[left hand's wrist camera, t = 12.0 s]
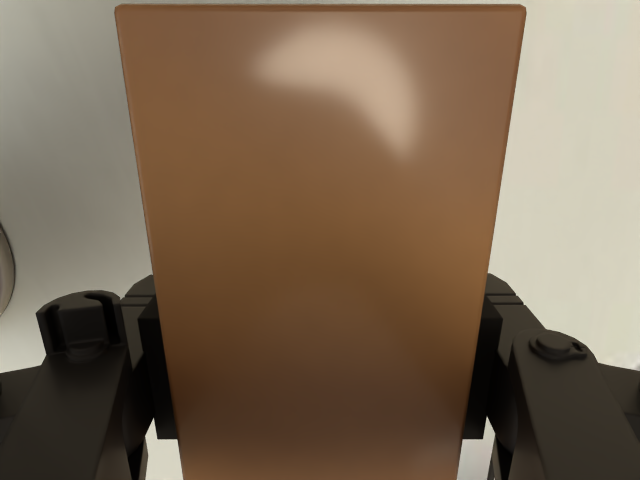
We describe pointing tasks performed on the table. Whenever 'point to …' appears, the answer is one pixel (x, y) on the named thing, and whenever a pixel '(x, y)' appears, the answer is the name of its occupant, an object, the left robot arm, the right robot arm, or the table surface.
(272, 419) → the post
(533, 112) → the table surface
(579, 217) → the table surface
